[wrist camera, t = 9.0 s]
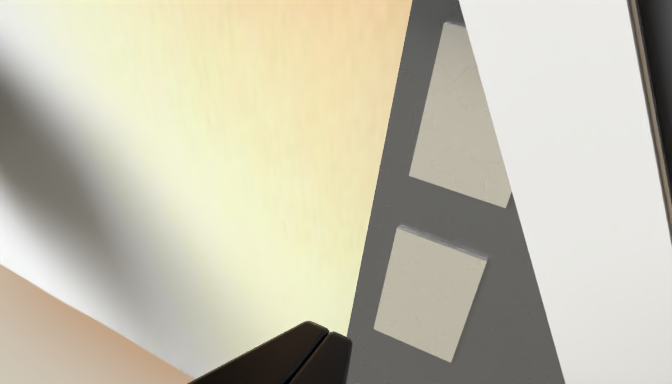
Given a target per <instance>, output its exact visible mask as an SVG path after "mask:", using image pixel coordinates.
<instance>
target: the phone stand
mask: <svg viewBox="0 0 672 384" xmlns="http://www.w3.org/2000/svg"><path fill="white" fill-rule="evenodd" d="M635 3H636V8H637V14H638V19H639V25H640V31H641V36H642V42H643V47H644V53H645V59H646V64H647V70H648V75H649V81H650V86H651V92H652V98H653V103H654V109H655V114H656V120H657V126H658V131H659V137H660V142H661V148H662V153H663V159H664V165H665V170H666V176H667V181H668V187H669V193H670V198H671V204H672V192H671V186H670V181H669V175H668V170H667V164H666V158H665V153H664V147H663V141H662V136H661V130H660V125H659V119H658V113H657V108H656V102H655V96H654V91H653V85H652V80H651V74H650V68H649V63H648V57H647V51H646V46H645V40H644V35H643V29H642V23H641V18H640V12H639V6H638V1H637V0H635ZM347 338H350V339H351V340H352V342H353V346H352V352H351V358H350V364H349V371H348V377H347V383H346V384H565V380H564V377H563V373H562V369H561V366H560V362H559V359H558V355H557V351H556V348H555V344H554V341H553V337H552V334H551V330H550V326H549V323H548V319H547V316H546V312H545V308H544V305H543V301H542V298H541V294H540V290H539V287H538V283H537V280H536V276H535V272H534V269H533V265H532V262H531V258H530V254H529V251H528V247H527V244H526V240H525V237H524V233H523V229H522V226H521V222H520V219H519V215H518V211H517V208H516V204H515V201H514V197H513V193H512V190H511V186H510V183H509V179H508V175H507V172H506V168H505V165H504V161H503V158H502V154H501V150H500V147H499V143H498V140H497V136H496V132H495V129H494V125H493V122H492V118H491V114H490V111H489V107H488V104H487V100H486V96H485V93H484V89H483V86H482V82H481V78H480V75H479V71H478V68H477V64H476V61H475V57H474V53H473V50H472V46H471V43H470V39H469V35H468V32H467V28H466V25H465V21H464V17H463V14H462V10H461V7H460V3H459V0H413V1H412V6H411V11H410V16H409V21H408V27H407V32H406V37H405V42H404V47H403V52H402V57H401V62H400V68H399V73H398V78H397V83H396V88H395V93H394V98H393V103H392V108H391V114H390V119H389V124H388V129H387V134H386V139H385V144H384V149H383V154H382V160H381V165H380V170H379V175H378V180H377V185H376V190H375V195H374V200H373V206H372V211H371V216H370V221H369V226H368V231H367V236H366V241H365V246H364V252H363V257H362V262H361V267H360V272H359V277H358V282H357V287H356V292H355V298H354V303H353V308H352V313H351V318H350V323H349V328H348V333H347Z"/></svg>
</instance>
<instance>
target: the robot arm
mask: <svg viewBox="0 0 672 384" xmlns="http://www.w3.org/2000/svg"><path fill="white" fill-rule="evenodd" d="M352 346H353V342H352V340H351V339H350V338H347V337H345V336H343V335H341V334H339V333H336V332H329V330H328V329H327V328H325V327H323V326H321V325H319V324H316V323H314V322H312V321H305V322H303V323H301V324H299V325H297V326H295V327H294V328H292V329H290V330H288V331H286V332H284V333H282V334H280V335H278V336H276V337H275V338H273V339H271V340H269V341H267V342H265V343H263V344H261V345H259V346H258V347H256V348H254V349H252V350H250V351H248V352H246V353H244V354H242V355H241V356H239V357H237V358H235V359H233V360H231V361H229V362H227V363H225V364H224V365H222V366H220V367H218V368H216V369H214V370H212V371H210V372H208V373H206V374H205V375H203V376H201V377H199V378H197V379H195V380H193V381H192V382H189V383H188V384H346V383H347V377H348V371H349V364H350V358H351V352H352Z"/></svg>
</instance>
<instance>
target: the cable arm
mask: <svg viewBox="0 0 672 384" xmlns="http://www.w3.org/2000/svg"><path fill="white" fill-rule="evenodd" d="M637 1H638V6H639V12H640V18H641V23H642V29H643V35H644V40H645V46H646V51H647V57H648V63H649V68H650V74H651V80H652V85H653V91H654V96H655V102H656V108H657V113H658V119H659V125H660V130H661V136H662V141H663V147H664V153H665V158H666V164H667V170H668V175H669V181H670V186H671V192H672V0H637ZM459 3H460V7H461V10H462V14H463V17H464V21H465V25H466V28H467V32H468V35H469V39H470V43H471V46H472V50H473V53H474V57H475V61H476V64H477V68H478V71H479V75H480V78H481V82H482V86H483V89H484V93H485V96H486V100H487V104H488V107H489V111H490V114H491V118H492V122H493V125H494V129H495V132H496V136H497V140H498V143H499V147H500V150H501V154H502V158H503V161H504V165H505V168H506V172H507V175H508V179H509V183H510V186H511V190H512V193H513V197H514V201H515V204H516V208H517V211H518V215H519V219H520V222H521V226H522V229H523V233H524V237H525V240H526V244H527V247H528V251H529V254H530V258H531V262H532V265H533V269H534V272H535V276H536V280H537V283H538V287H539V290H540V294H541V298H542V301H543V305H544V308H545V312H546V316H547V319H548V323H549V326H550V330H551V334H552V337H553V341H554V344H555V348H556V351H557V355H558V359H559V362H560V366H561V369H562V373H563V377H564V380H565V384H672V204H671V198H670V193H669V187H668V181H667V176H666V170H665V165H664V159H663V153H662V148H661V142H660V137H659V131H658V126H657V120H656V114H655V109H654V103H653V98H652V92H651V86H650V81H649V75H648V70H647V64H646V59H645V53H644V47H643V42H642V36H641V31H640V25H639V19H638V14H637V8H636V3H635V0H459Z"/></svg>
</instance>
